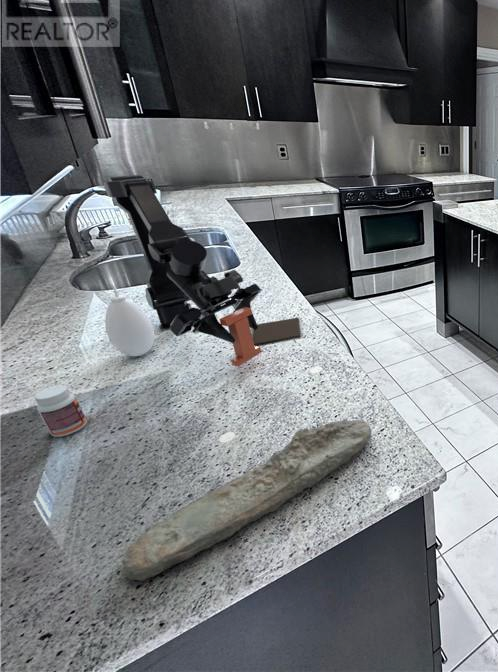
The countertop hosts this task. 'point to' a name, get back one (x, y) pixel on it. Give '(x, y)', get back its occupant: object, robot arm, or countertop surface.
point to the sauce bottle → (128, 326)
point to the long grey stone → (245, 498)
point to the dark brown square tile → (276, 331)
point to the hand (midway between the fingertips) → (245, 335)
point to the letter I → (241, 335)
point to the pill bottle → (60, 411)
